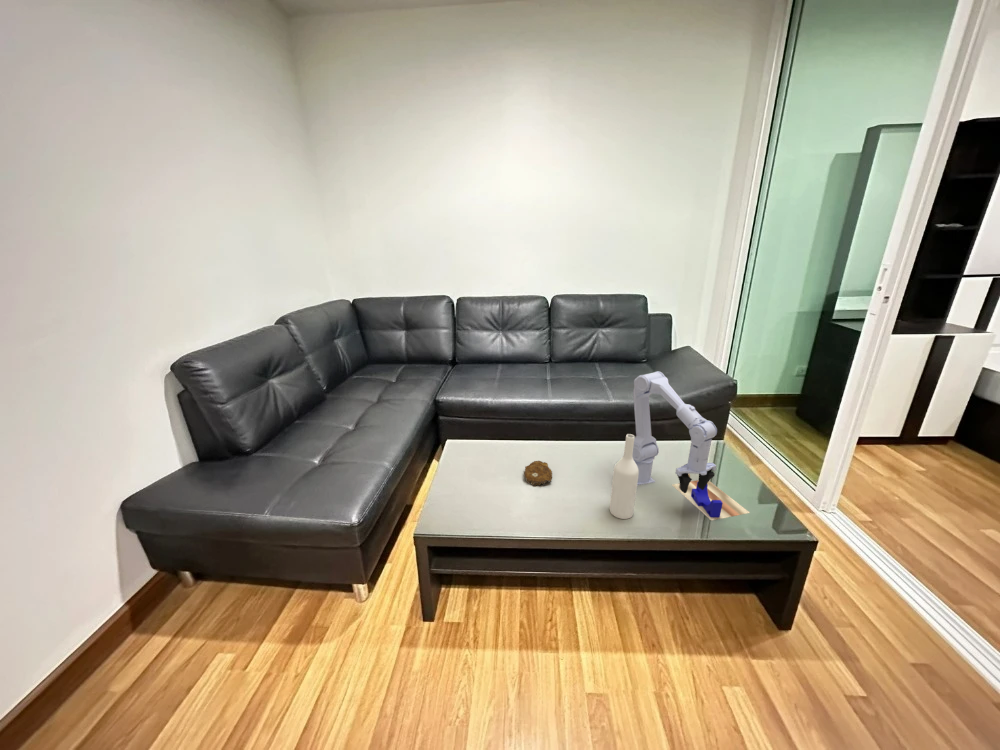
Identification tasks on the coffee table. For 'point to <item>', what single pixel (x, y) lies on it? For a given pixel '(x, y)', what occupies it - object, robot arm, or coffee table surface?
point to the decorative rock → (538, 473)
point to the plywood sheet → (715, 493)
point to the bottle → (624, 483)
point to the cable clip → (706, 501)
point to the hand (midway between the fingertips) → (692, 489)
